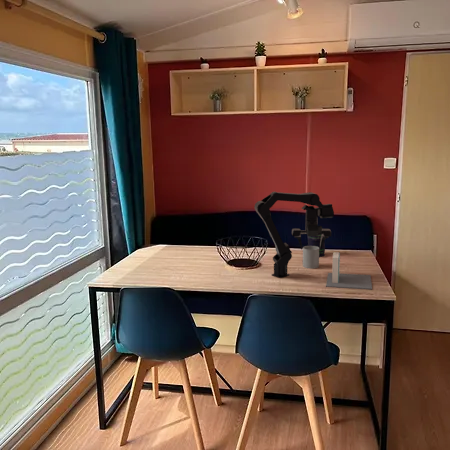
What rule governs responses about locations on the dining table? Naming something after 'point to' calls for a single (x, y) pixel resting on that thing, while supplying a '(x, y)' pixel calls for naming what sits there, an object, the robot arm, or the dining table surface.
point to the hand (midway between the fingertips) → (310, 249)
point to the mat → (350, 281)
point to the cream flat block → (335, 267)
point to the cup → (311, 257)
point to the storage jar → (317, 244)
